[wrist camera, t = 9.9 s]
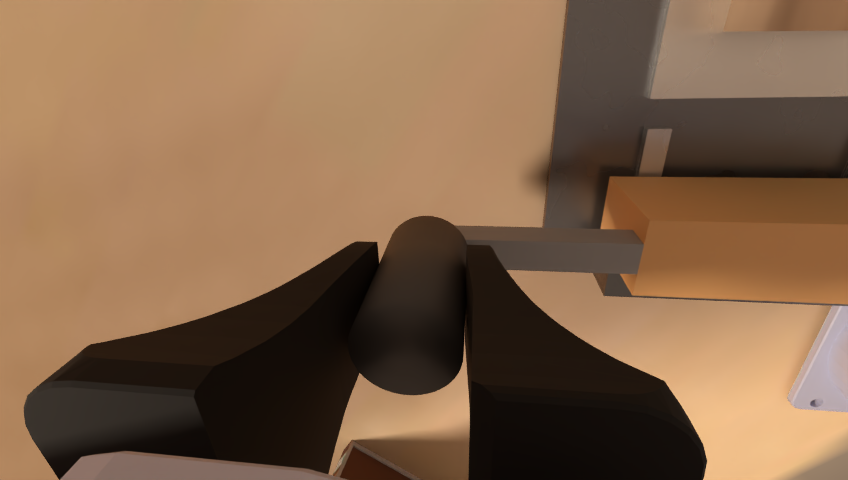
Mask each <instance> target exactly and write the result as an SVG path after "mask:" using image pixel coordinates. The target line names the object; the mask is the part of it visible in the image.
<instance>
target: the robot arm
mask: <svg viewBox="0 0 848 480" xmlns="http://www.w3.org/2000/svg"><path fill="white" fill-rule="evenodd" d="M378 266H379V257H378V246H377V242H354V243H352V244H350V245H349V246H347V247H345V248H344V249H342V250H340V251H339V252H337V253H336V254H334V255H332V256H331V257H329V258H328V259H326V260H325V261H323V262H321V263H320V264H318V265H317V266H315V267H313V268H312V269H310V270H308V271H307V272H305V273H303V274H301V275H300V276H298V277H296V278H294V279H292V280H291V281H289V282H287V283H285V284H284V285H282V286H280V287H278V288H276V289H274V290H272V291H270V292H268V293H265V294H263V295H261V296H259V297H256V298H254V299H252V300H250V301H247V302H245V303H242V304H240V305H237V306H234V307H231V308H229V309H226V310H223V311H220V312H218V313H215V314H212V315H209V316H207V317H203V318H200V319H197V320H194V321H190V322H187V323H184V324H180V325H176V326H173V327H169V328H165V329H161V330H157V331H153V332H149V333H145V334H140V335H135V336H130V337H126V338H121V339H116V340H111V341H107V342H101V343H96V344H91V345H89V346H87V347H86V348H85V349H83V350H82V351H81V352H80V353H79V354H77V355H76V356H75V357H74V358H72V359H71V360H70V361H69V362H67V363H66V364H65V365H64V366H62V367H61V368H60V369H59V370H57V371H56V372H55V373H54V374H52V375H51V376H50V377H49V378H47V379H46V380H45V381H44V382H42V383H41V384H40V385H39V386H37V387H36V388H35V389H34V390H33V391H32V392H31V393H30V394H29V395H28V396H27V399H26V402H25V405H24V417H25V424H26V427H27V429H28V431H29V433H30V435H31V437H32V439H33V441H34V442H35V444H36V445H37V447H38V448H39V450H40V451H41V453H42V454H43V456H44V457H45V459H46V460H47V462H48V463H49V465H50V466H51V468H52V469H53V471H54V472H55V474H56V475H57V477H58V479H59V480H347V479H343V478H340V477H336V476H332V475H329V474H328V473H329V469H330V465H331V461H332V457H333V453H334V449H335V445H336V442H337V438H338V435H339V431H340V427H341V424H342V420H343V416H344V413H345V410H346V407H347V404H348V401H349V398H350V395H351V393H352V390H353V388H354V385H355V383H356V380H357V378H358V375H359V373H360V372H359V371H358V370H357V369H356V367H355V366H354V364H353V362H352V361H351V358H350V355H349V351H348V336H349V332H350V330H351V328H352V325H353V323H354V321H355V318H356V316H357V314H358V312H359V309H360V307H361V305H362V302H363V300H364V298H365V296H366V293H367V291H368V289H369V286H370V284H371V282H372V280H373V277H374V275H375V273H376V270H377V268H378ZM465 346H466V361H467V375H468V389H469V403H470V442H469V480H703V478H704V474H705V469H706V464H707V459H706V455H705V451H704V447H703V444H702V442H701V440H700V438H699V436H698V434H697V432H696V431H695V429H694V427H693V425H692V423H691V421H690V420H689V418H688V416H687V415H686V413H685V411H684V410H683V408H682V406H681V405H680V403H679V402H678V400H677V399H676V398H675V396H674V395H673V393H672V392H671V390H670V389H669V387H668V386H667V384H666V383H665V381H663V380H661V379H659V378H656V377H654V376H652V375H650V374H647V373H645V372H643V371H641V370H639V369H636V368H634V367H632V366H630V365H628V364H625V363H623V362H621V361H619V360H617V359H615V358H613V357H611V356H609V355H608V354H606V353H604V352H602V351H600V350H599V349H597V348H595V347H593V346H591V345H590V344H588V343H587V342H585V341H583V340H582V339H580V338H578V337H577V336H575V335H574V334H573V333H571V332H570V331H568V330H567V329H565V328H564V327H562V326H561V325H560V324H558V323H557V322H556V321H554V320H553V319H552V318H551V317H549V316H548V315H547V314H546V313H545V312H543V311H542V310H541V309H540V308H539V307H538V306H537V305H535V304H534V303H533V302H532V301H531V300H530V298H529V297H528V296H527V295H526V294H525V293H524V292H523V291H522V290H521V289H520V287H519V286H518V285H517V284H516V283H515V281H514V280H513V279H512V277H511V276H510V275H509V273H508V272H507V271H506V269H505V268H504V266H503V265H502V263H501V262H500V260H499V259H498V257H497V255H496V254H495V252H494V249H493V248H492V247H491V246H490V245H467V251H466V313H465ZM787 399H788V401H789V402H790V403H791V405H792V406H793V407H795V408H798V409H808V410H822V411H836V412H848V306H833V305H832V307H831V309H830V311H829V313H828V315H827V317H826V319H825V321H824V323H823V325H822V328H821V330H820V332H819V334H818V336H817V338H816V340H815V342H814V344H813V346H812V348H811V350H810V352H809V354H808V356H807V358H806V360H805V362H804V364H803V366H802V368H801V370H800V372H799V374H798V376H797V378H796V380H795V382H794V384H793V386H792V388H791V390H790V392H789V394H788V397H787Z"/></svg>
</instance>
